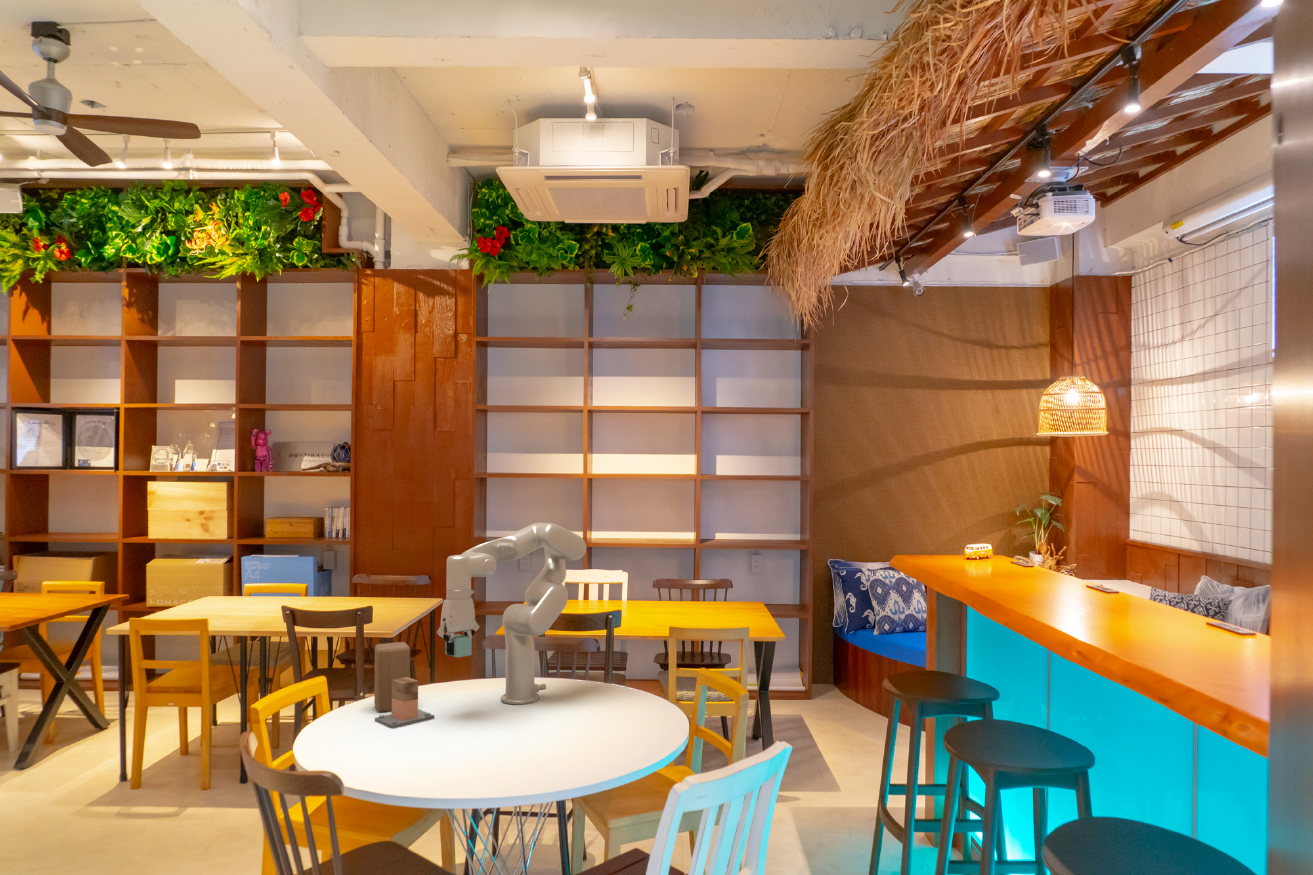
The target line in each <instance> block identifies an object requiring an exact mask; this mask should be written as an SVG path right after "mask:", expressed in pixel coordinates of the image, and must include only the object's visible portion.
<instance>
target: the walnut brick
mask: <svg viewBox="0 0 1313 875" xmlns="http://www.w3.org/2000/svg"><path fill="white" fill-rule="evenodd" d="M392 698H393V699H396V700H399V701H401V702H406V701H411V700H415V699H418V700H419V680H417V679H414V678H411V677H410V678H408V677H404V678H399V679H394V680H392Z"/></svg>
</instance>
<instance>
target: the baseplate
mask: <svg viewBox="0 0 1313 875" xmlns="http://www.w3.org/2000/svg"><path fill="white" fill-rule="evenodd" d="M430 720H435V715H434V714H432V713H431V712H426V711H424V710H421V709H419V698H418V699H415V700H411V701H406V702H401V701H399V700H396V699H393V698H392V711H391V713H390V714H387V715H384V714H380V715H378V716H377V717H374V722H375V723H378V724H379V725H383V726H384V727H387V728H390V729H396V728H401V727H404V726H405V727H406V726H410V725H413V724H418V723H421V722H426V721H430Z"/></svg>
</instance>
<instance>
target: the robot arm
mask: <svg viewBox="0 0 1313 875" xmlns="http://www.w3.org/2000/svg"><path fill="white" fill-rule="evenodd" d="M540 548H541V549H544V556H545V557H544V558H545V559H544V565H543V568H542V569H541V571H540V572H539V574H538V575H537V576H536V577H535V579H533V581H532V582H531V584H530V585H529V586H528V587H527V589H526V590H525V593H524V601H525V603H526V604H524V603H514V604H511V605H509V606H508V607H507V608H505V609H504V612H503V615H502V627H503V631H504V637H505V638H504V639H505V642H504V643H505V694H502V695H501V696H500V701H501V702H502V703H504V704H507V705H526V704H531V703H536V702H537V701H538V700H539V699H540V694H539V691H544V690H546V689H547V685H546V683H541V684H538V683H535V642H534V638H533V637H539V636H542V635H544V634H545V633H546V632H548V631H549V629H550V628H551V627H552V625H553V624H554V623H555V621H556V620H557V619H558V618H559V616H560V615H561V613H562V612H563V611H564V609H565V607H566V605H567V603H568V599H569V593H568V589H567V587H566V586H565V585H564V584H563V583H564V581H565V580H566V576H567V567H566V560H567V561H578V560H580V559H582V558H583V557H584V555H585V554H586V552H587V545H586V541H585V540H584V539H583V537H581V536H580V535H578V534H576V533H575V532H572V531H570V530H569V529H567V528H565V527H563V526H561V525H559V524H556V523H552V522H535V523H531V524H529V525H527V526H525V527H523V528H521V529H519V530H517V531H514V532H513V533H511V534H508V535H506V536H503V537H499V538H497V539H494V540H490V541H487V542H484V543H481V544H478V545H476V546H474V547H472V548H469V549H468V550H465V551H464V552H462V553H461V554H454V555H449V556H448V557H447V559H446V582H445V583H446V587H445V588H446V589H445V590H446V598H445V599H444V600H443V602H442V608H441V615H440V626H439V627H438V629H437V631H436V634H437V635H438V636H439V637H441V638H442V639H443V641H444V642H446V652H447V656H450V655H451V657H454V656H453V655H454V642H452V641H453V637H454V635H455V634H456V633H461V632H462V633H463V634H462V635H464V636H469V637H472V638H473V636H474V635H475V634H476V632H477V631H479V629H480V625H479V624H478V622H477V620H476V611H475V604H474V600H473V597H472V595H473V594H474V593H475V591H474V589H472V578H473V577H474V578H477V577H478V578H486V577H489V576H491V575H493V574H494V572H495V571H496V569H497V565H498V564H497V563H503V562H504V563H506V562H511V561H517V560H518V559H521V558H523V557H525V556H526V555H528V554H530V553H532V552H534V551H536V550H538V549H540Z"/></svg>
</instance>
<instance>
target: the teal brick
mask: <svg viewBox="0 0 1313 875" xmlns="http://www.w3.org/2000/svg"><path fill="white" fill-rule="evenodd" d="M472 639H473V636H472V637H469V636H464V634H454V637H453V641H452V642H454V655H453V656H451V655H449V656H451V657H453V658H454V657H455V658H462V657H468V656H469V657H470V656H472V645H473V644H472V642H473V641H472ZM444 642H445V641H444ZM444 651H445V653H444V654H445V655H447V652H446V642H445V650H444ZM447 656H448V655H447Z"/></svg>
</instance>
